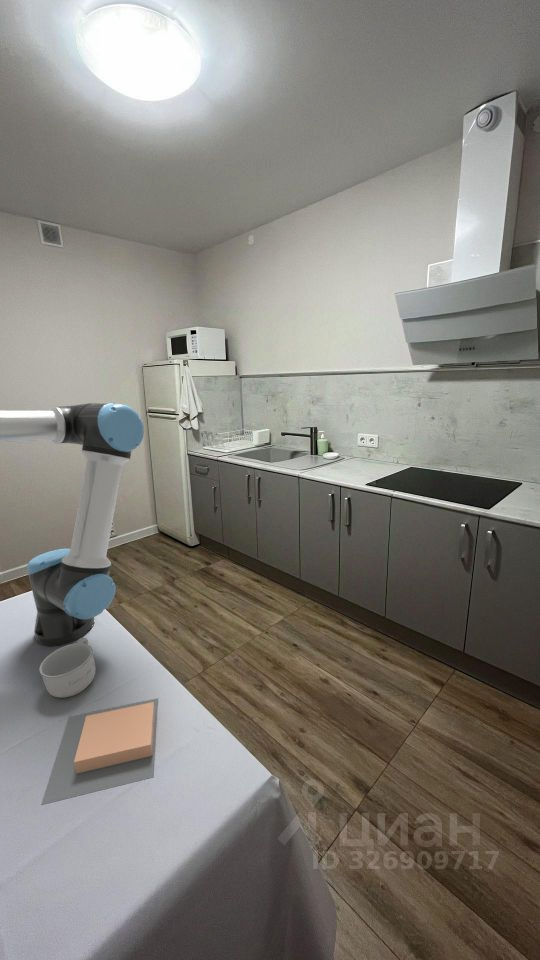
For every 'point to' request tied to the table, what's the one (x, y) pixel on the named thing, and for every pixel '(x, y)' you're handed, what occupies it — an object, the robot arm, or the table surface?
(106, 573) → the robot arm
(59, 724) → the table surface
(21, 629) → the table surface
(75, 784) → the mat
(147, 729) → the tile
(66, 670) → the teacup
